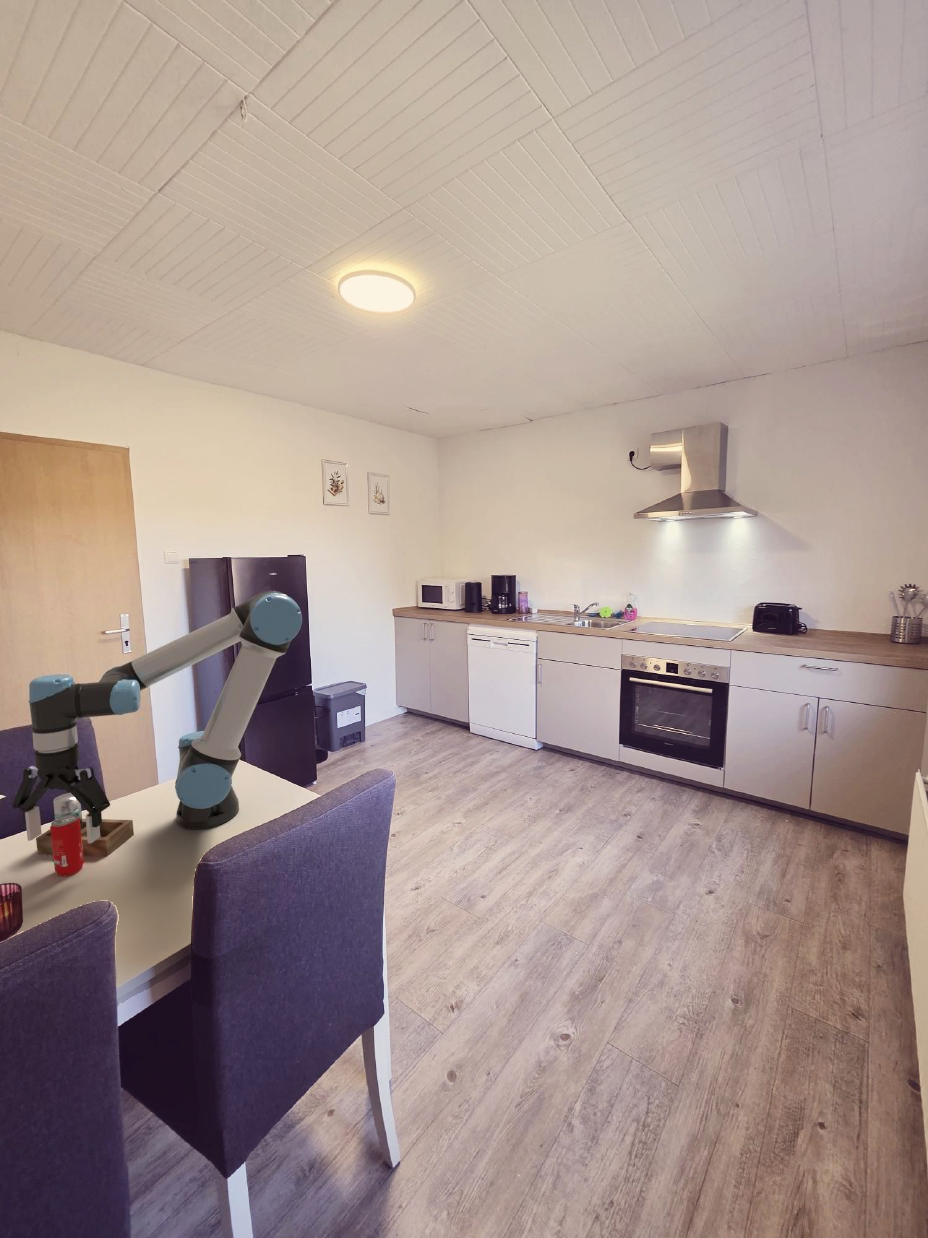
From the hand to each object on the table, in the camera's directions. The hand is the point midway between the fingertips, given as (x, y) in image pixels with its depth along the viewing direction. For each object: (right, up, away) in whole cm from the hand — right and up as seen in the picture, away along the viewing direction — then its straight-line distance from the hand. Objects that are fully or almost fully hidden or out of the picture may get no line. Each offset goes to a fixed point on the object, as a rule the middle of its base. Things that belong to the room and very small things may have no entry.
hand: (64, 838), depth 113 cm
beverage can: (0, -8, +1) cm, 8 cm away
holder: (-3, -6, +11) cm, 13 cm away
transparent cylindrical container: (-7, -6, +11) cm, 15 cm away
